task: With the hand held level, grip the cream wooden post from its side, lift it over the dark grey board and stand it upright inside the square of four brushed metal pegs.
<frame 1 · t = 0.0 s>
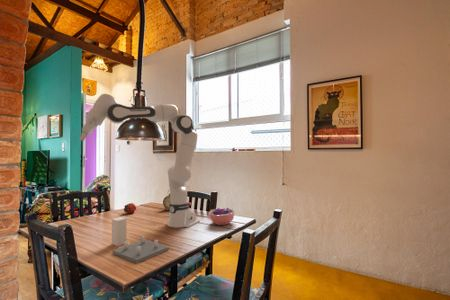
hand: (81, 139, 138), 54 cm above the table, tool tilted 30°, fingers open, 8 cm apart
alarm clock: (169, 210, 204), on the table
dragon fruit: (130, 213, 193), on the table
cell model: (221, 224, 166), on the table
cream post: (119, 243, 129), on the table
peg cradle: (140, 251, 119), on the table
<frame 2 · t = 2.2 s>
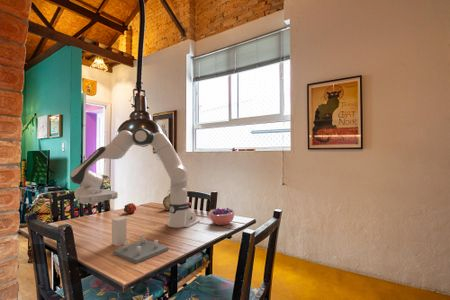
hand: (106, 198, 136), 22 cm above the table, tool horizontal, fingers open, 8 cm apart
nothing on the table moved.
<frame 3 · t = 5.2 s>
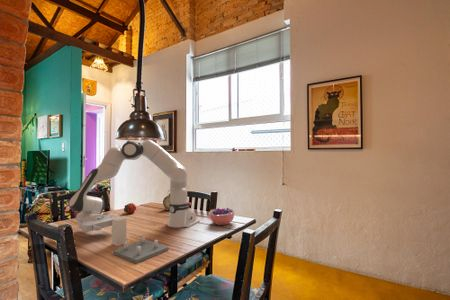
hand: (108, 226, 135), 7 cm above the table, tool horizontal, fingers open, 8 cm apart
nothing on the table moved.
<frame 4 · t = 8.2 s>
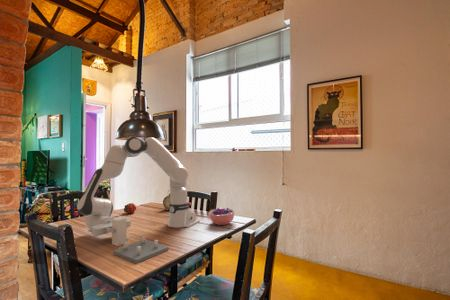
hand: (120, 229, 129), 8 cm above the table, tool horizontal, fingers closed on cream post, 5 cm apart
cream post: (119, 243, 129), on the table, touching gripper
everything else where it was.
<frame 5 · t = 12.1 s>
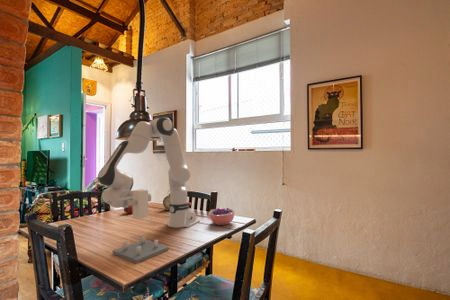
hand: (141, 201, 119), 24 cm above the table, tool horizontal, fingers closed on cream post, 5 cm apart
cream post: (140, 217, 120), point 16 cm above the table, touching gripper
everything else where it was.
when the fingers open (10 cm above the table, at t = 16.0 s): cream post drops 1 cm, resting on peg cradle.
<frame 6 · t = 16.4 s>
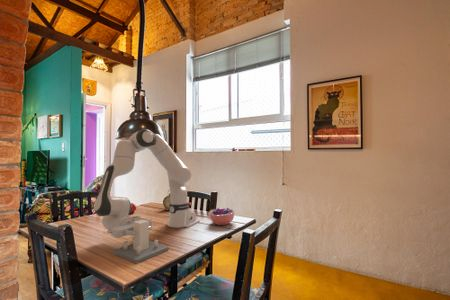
hand: (142, 230, 119), 10 cm above the table, tool horizontal, fingers open, 8 cm apart
cream post: (140, 248, 119), point 1 cm above the table, touching peg cradle
everything else where it was.
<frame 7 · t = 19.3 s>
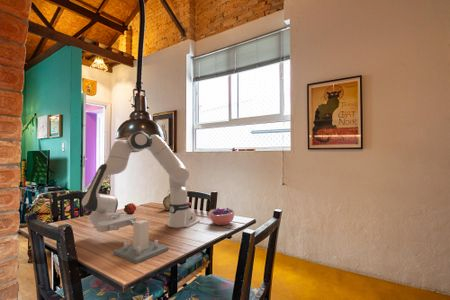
hand: (126, 226, 126), 10 cm above the table, tool horizontal, fingers open, 8 cm apart
nothing on the table moved.
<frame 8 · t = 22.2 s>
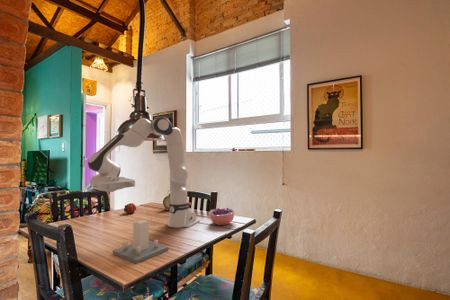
hand: (125, 186, 130), 30 cm above the table, tool horizontal, fingers open, 8 cm apart
nothing on the table moved.
at the end: cream post 0.0 cm off-centre on the peg cradle, point 1.5 cm above the peg cradle's base; cream post tilted 0°; the gripper is holding nothing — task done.
